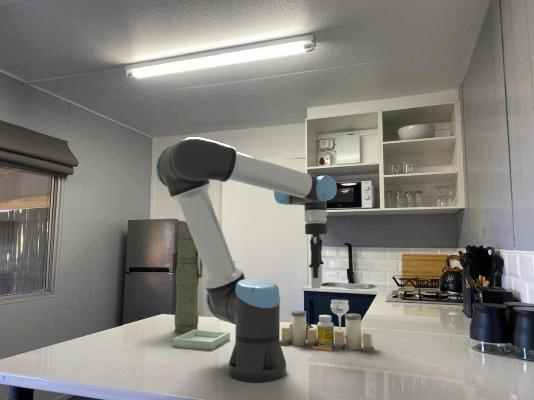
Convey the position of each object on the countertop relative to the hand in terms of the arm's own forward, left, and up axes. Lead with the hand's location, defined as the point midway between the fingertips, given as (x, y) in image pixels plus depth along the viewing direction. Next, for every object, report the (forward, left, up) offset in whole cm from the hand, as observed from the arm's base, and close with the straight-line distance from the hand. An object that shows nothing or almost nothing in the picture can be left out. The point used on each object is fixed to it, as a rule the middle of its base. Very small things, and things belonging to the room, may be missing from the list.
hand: (317, 285), depth 134 cm
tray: (-12, +37, -19) cm, 43 cm away
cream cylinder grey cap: (-2, +6, -19) cm, 20 cm away
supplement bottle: (-2, -3, -19) cm, 20 cm away
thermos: (+3, +52, -19) cm, 56 cm away
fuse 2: (-2, -12, -19) cm, 23 cm away
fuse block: (-2, -3, -19) cm, 19 cm away
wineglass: (+16, -5, -19) cm, 26 cm away
